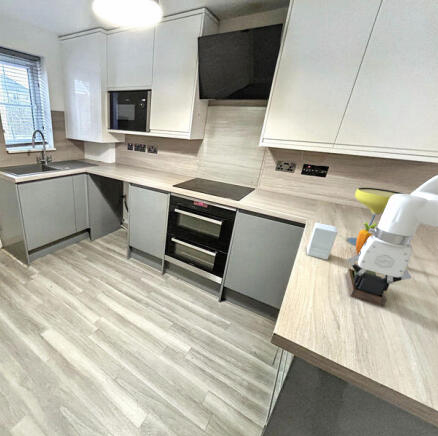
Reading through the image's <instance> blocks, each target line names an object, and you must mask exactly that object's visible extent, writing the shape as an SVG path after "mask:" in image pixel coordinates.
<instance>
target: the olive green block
mask: <svg viewBox="0 0 438 436" xmlns="http://www.w3.org/2000/svg"><path fill="white" fill-rule="evenodd" d="M356 273H357V272H356V271H355V272H354V274H353V278H355V276H356ZM365 273H368V274H372V275H375V276H378V275H377V272H373V271H369V270H367V271H366V272H365Z"/></svg>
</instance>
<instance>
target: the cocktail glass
mask: <svg viewBox="0 0 438 436" xmlns="http://www.w3.org/2000/svg"><path fill="white" fill-rule="evenodd" d="M394 194H405V193H403V192H399V191H394V190H390V189H384V188H377V187H376V188H375V187H358V188H357V189H356V191H355V193H354V196H355V199H356V200H357V201H358V202H359V203H361V204H362V205H363V206H365V207H367V208H368V209H369V211H370V213H371V214H372V218H371V220H370V222H369V223H368V227H369V226H371V225H373V223H374V219H375V218H376V216H377V215H381V214H383V213H384V210H385V208H386V206H387V203H388V201H389V199H390V197H391V196H393V195H394ZM357 238H358V237H357ZM357 238H356V237H350V238H349V237H348V239H347V241H348V243H350V244H351V245H353V246H356V241H357Z"/></svg>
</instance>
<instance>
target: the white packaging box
mask: <svg viewBox="0 0 438 436" xmlns="http://www.w3.org/2000/svg"><path fill="white" fill-rule="evenodd" d="M337 235H338V229H337V226H335V225H330V224H325V223H320V222H315V223H314V227H313V229H312V233H311V235H310V238H309V242H308V244H307V248H306V249H307V251H306V255H307V256H311V257H314V258H319V259H322V260H328V259H329V257H330V254H331V251H332V249H333V246H334V243H335V240H336V238H337Z"/></svg>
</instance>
